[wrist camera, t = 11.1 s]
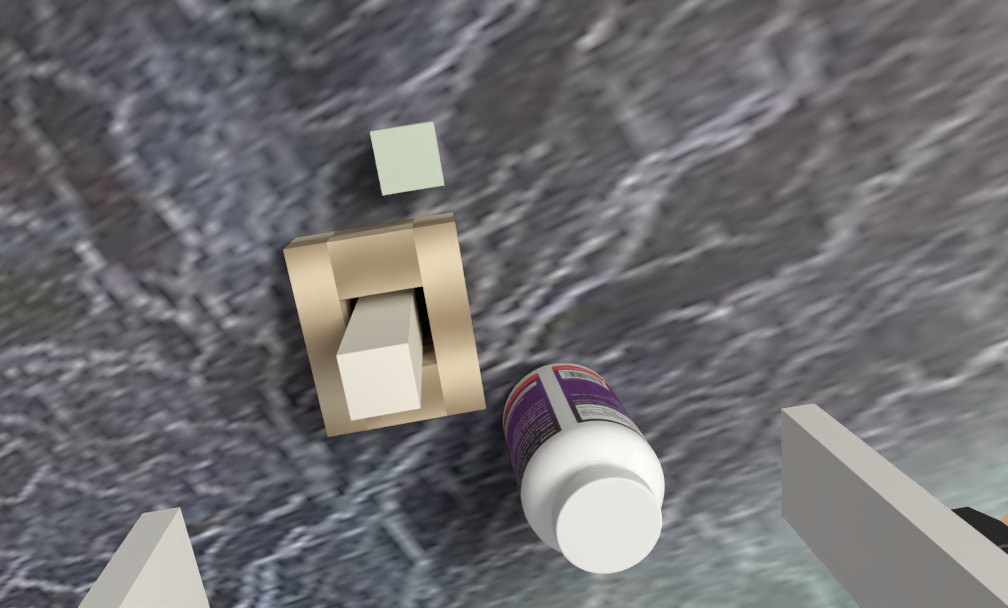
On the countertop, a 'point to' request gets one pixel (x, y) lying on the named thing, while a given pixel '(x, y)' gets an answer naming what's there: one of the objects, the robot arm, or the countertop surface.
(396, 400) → the long peg
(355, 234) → the hole block
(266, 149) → the countertop surface
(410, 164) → the short peg
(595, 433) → the pill bottle
